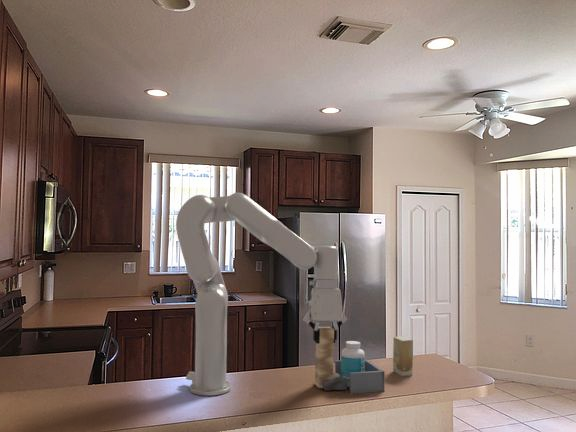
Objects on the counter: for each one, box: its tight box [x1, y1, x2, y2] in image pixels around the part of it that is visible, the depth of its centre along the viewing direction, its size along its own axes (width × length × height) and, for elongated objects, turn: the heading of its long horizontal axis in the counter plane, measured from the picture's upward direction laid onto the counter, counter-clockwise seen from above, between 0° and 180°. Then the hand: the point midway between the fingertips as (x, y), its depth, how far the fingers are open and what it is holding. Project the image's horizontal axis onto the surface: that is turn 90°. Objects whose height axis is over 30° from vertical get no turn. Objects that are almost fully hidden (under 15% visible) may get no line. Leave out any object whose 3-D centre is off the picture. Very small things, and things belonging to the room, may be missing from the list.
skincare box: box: [392, 335, 414, 377], centre depth 163 cm, size 6×4×12 cm
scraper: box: [314, 326, 348, 391], centre depth 149 cm, size 8×9×18 cm
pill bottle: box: [340, 340, 366, 388], centre depth 150 cm, size 8×7×14 cm
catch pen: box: [334, 358, 385, 394], centre depth 150 cm, size 11×15×6 cm
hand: (324, 341), depth 148 cm, fingers closed on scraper, 4 cm apart
